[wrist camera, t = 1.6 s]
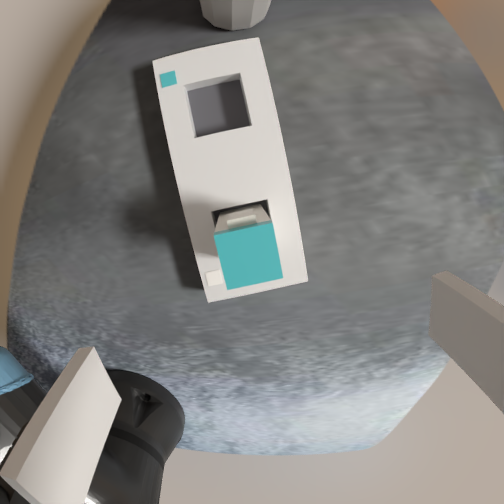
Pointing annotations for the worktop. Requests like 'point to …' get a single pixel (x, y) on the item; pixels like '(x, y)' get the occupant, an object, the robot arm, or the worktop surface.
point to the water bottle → (234, 12)
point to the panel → (228, 153)
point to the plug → (247, 247)
